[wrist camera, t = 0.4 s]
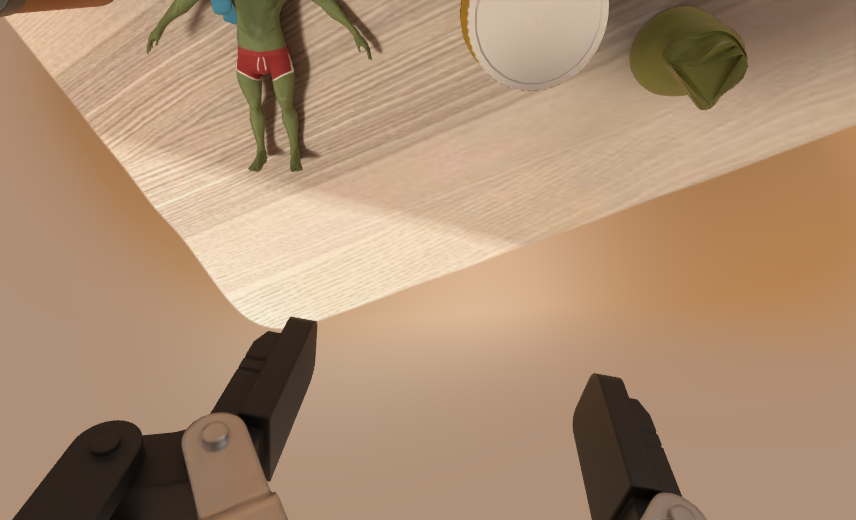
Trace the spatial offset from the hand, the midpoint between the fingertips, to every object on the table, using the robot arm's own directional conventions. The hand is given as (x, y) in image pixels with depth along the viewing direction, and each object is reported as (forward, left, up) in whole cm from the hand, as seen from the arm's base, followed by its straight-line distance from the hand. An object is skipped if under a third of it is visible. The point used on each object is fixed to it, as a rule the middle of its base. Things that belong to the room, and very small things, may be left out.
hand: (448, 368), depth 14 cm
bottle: (-9, +2, -29) cm, 30 cm away
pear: (-8, +13, -29) cm, 32 cm away
